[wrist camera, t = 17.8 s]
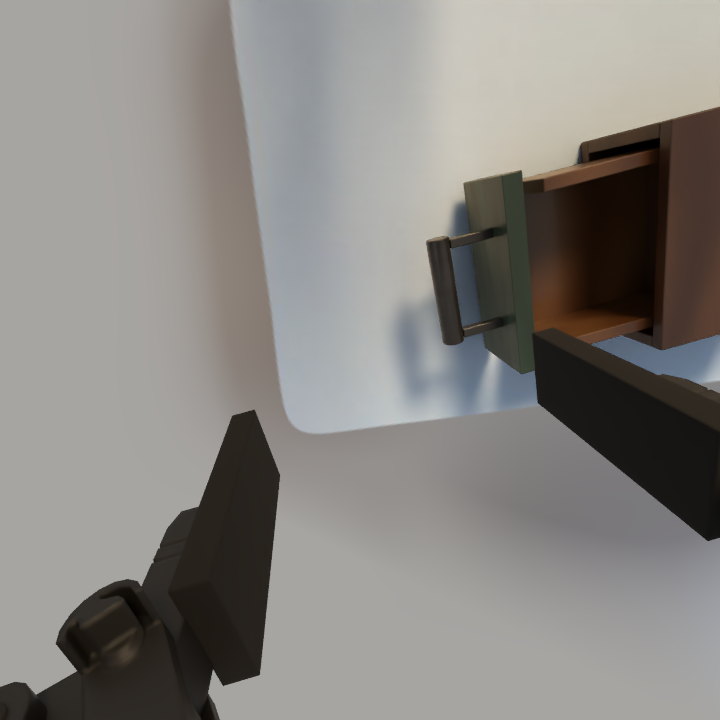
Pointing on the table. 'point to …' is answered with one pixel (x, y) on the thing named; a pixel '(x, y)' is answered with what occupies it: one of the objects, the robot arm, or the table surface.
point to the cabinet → (680, 224)
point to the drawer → (556, 255)
